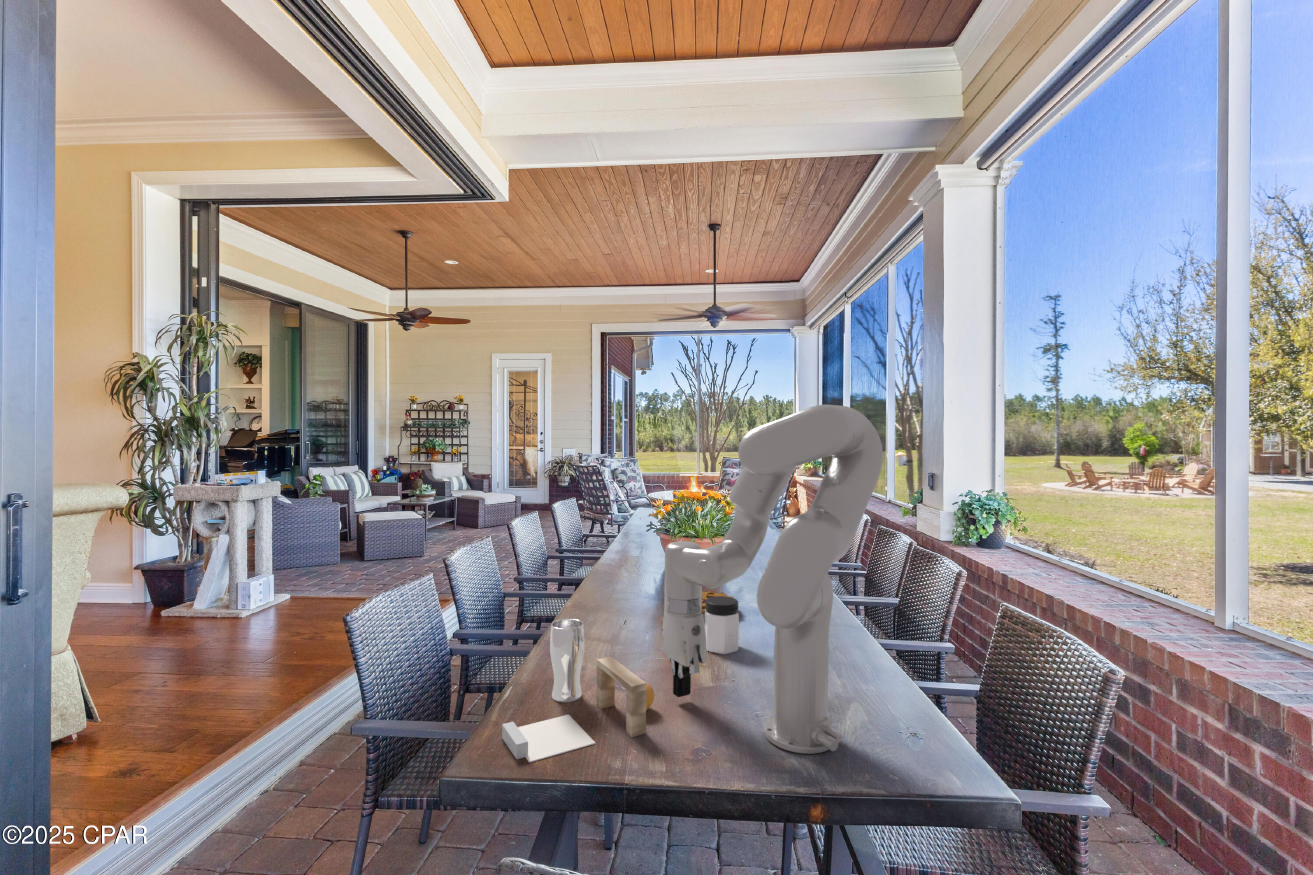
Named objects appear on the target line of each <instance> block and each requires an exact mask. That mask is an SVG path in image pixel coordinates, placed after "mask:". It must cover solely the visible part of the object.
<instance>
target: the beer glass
mask: <svg viewBox="0 0 1313 875" xmlns="http://www.w3.org/2000/svg"><path fill="white" fill-rule="evenodd" d="M549 634H550V635H549V636H550V637H549V638H550V639H549V653H550V661H551V666H552V673H553V686H552V693H551V699H553V700H554V701H555V702H558V703H572V702H576V701H578V700H579V699H581V698H582V696H583V695H582V694H583V693H582V688H581V670H582V665H583V660H584V654H585V653H584V652H585V629H584V621H582V620H581V619H578V618H577V619H576V618H561V619H557V620H553V621H552V622H551V624H550V633H549Z"/></svg>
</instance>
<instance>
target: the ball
mask: <svg viewBox="0 0 1313 875" xmlns="http://www.w3.org/2000/svg"><path fill="white" fill-rule="evenodd" d="M652 687H653V686H651V685H650V684H649V683H648V682H646V711H647V710H648V709H650V708H651V706H652V705H653V703H654V700H655V692H654V689H653V688H652ZM626 695H627V692H626V694H625V696H626Z"/></svg>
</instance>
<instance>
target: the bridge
mask: <svg viewBox="0 0 1313 875" xmlns="http://www.w3.org/2000/svg"><path fill="white" fill-rule="evenodd" d="M616 682H617V683H618V684H620V685H621V686H622V687H624V688H625V689H626V693H627V695H626V694H625V698H626V703H625V704H626V706H625V707H626V711H625V712H626V714H625V716H626V717H625V720H626V721H625V723H626V724H625V726H626V727H625V733H626V734H627V735H628V736H629V737H630V738H631V739H632V738H634V737H638V736H641V735H646V734H647V710H646V683H647V681H645V680H643V679H642V678H641V677H639V676H638V675H636V674H635V673H634V672H632V671H631V670H629V668H627V667H626V666H624V665H622V664H621V663H620V662H619V661H617V660H616V659H614V658H613V657H612V656H606V657H601V658H597V659H596V706H597V707H598V708H599V709H600V710H604V709H607V708H611V706H612V707H614V706H616V705H615V704H616V703H615V701H616V700H615V699H616V698H615V695H616V694H615V692H616V690H615V687H616V685H615V683H616Z"/></svg>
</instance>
